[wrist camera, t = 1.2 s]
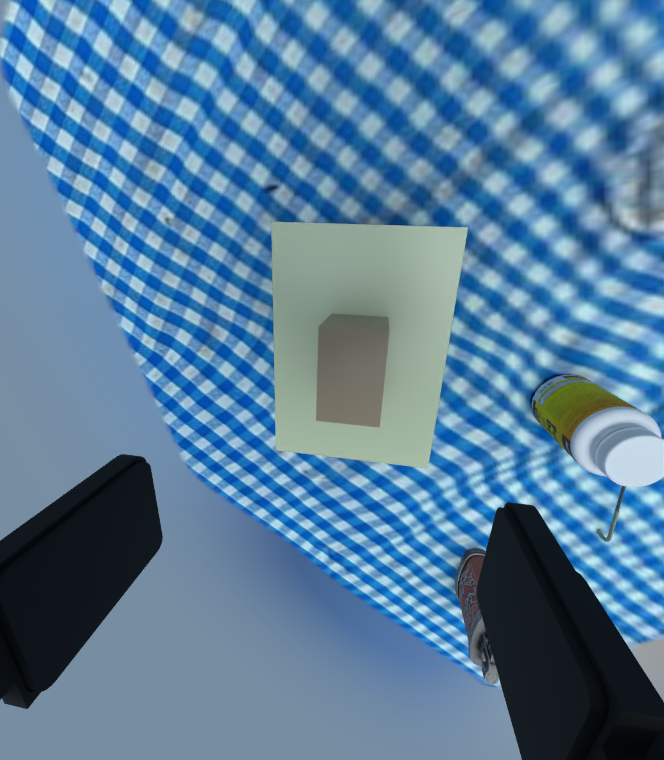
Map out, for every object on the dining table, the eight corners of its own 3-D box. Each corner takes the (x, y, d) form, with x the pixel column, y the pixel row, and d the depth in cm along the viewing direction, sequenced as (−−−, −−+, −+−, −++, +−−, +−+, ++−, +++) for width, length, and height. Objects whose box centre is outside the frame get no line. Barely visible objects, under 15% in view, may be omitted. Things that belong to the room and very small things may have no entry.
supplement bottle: (516, 401, 32) (572, 461, 22) (567, 360, 30) (654, 407, 20) (555, 437, 32) (626, 511, 23) (608, 400, 30) (711, 463, 21)
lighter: (479, 599, 41) (507, 700, 31) (450, 594, 41) (470, 693, 32) (493, 550, 38) (529, 644, 28) (463, 545, 38) (488, 637, 29)
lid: (282, 225, 24) (240, 210, 17) (459, 231, 23) (492, 217, 16) (284, 435, 30) (254, 487, 23) (424, 451, 29) (437, 512, 22)
